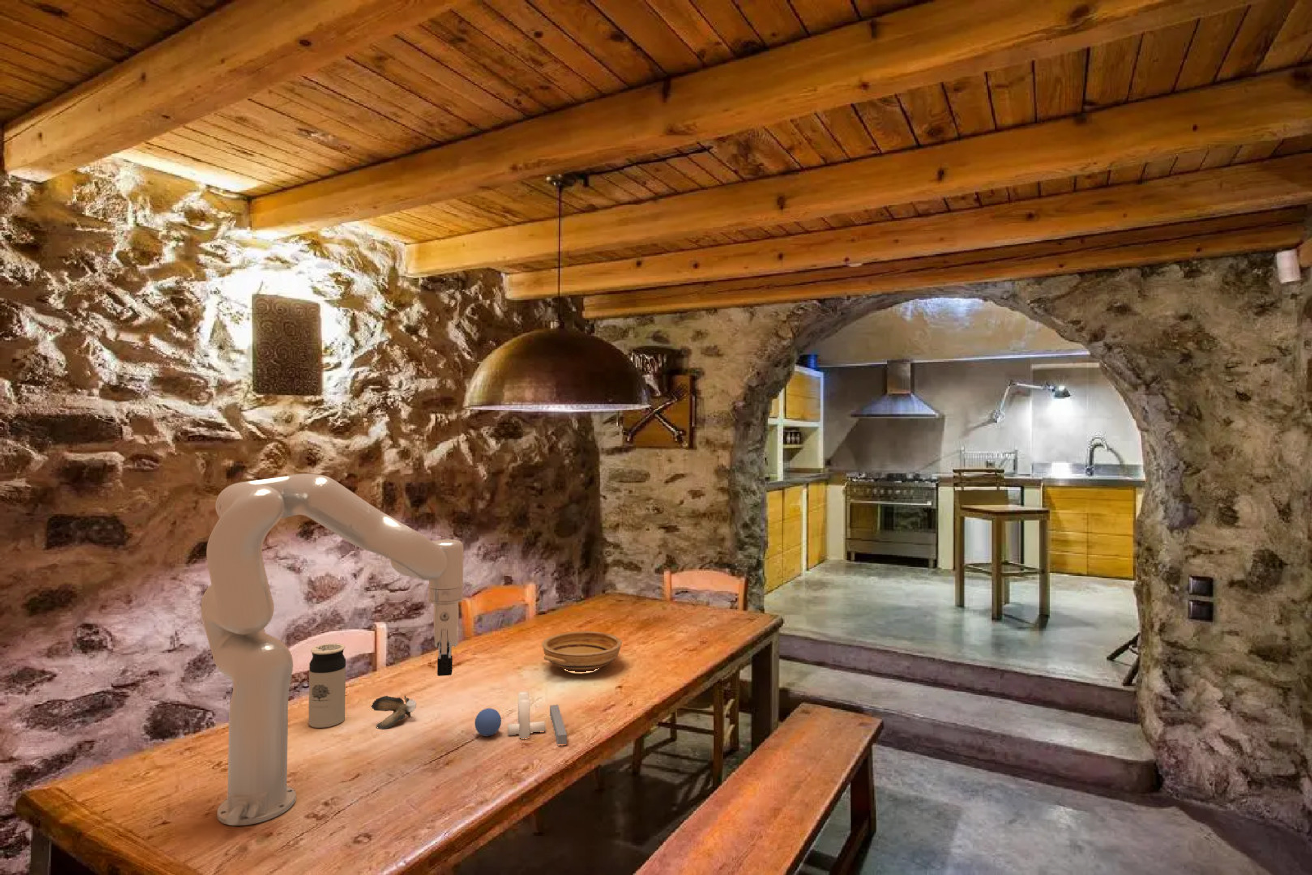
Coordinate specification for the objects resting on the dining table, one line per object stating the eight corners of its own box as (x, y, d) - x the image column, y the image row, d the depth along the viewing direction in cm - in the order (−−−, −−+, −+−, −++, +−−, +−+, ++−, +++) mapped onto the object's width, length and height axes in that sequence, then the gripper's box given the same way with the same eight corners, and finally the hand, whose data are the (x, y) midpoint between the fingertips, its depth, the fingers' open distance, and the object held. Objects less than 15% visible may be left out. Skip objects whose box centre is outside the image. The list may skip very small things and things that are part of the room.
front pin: (508, 737, 158) (545, 733, 160) (508, 727, 158) (545, 724, 160) (507, 732, 160) (544, 728, 162) (508, 722, 160) (544, 719, 162)
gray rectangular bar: (566, 745, 154) (566, 734, 154) (557, 746, 153) (557, 735, 153) (557, 714, 171) (558, 704, 171) (549, 715, 170) (550, 705, 170)
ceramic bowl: (583, 649, 226) (584, 625, 226) (642, 663, 212) (642, 637, 212) (517, 673, 201) (518, 646, 201) (579, 691, 188) (579, 661, 188)
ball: (487, 706, 156) (469, 729, 154) (507, 722, 157) (490, 744, 155) (485, 700, 162) (468, 722, 160) (505, 715, 163) (488, 736, 161)
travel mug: (325, 713, 170) (326, 641, 170) (352, 717, 168) (353, 644, 168) (300, 726, 162) (301, 651, 162) (328, 730, 160) (330, 654, 160)
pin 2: (530, 739, 157) (530, 702, 157) (519, 740, 156) (519, 702, 156) (529, 734, 159) (529, 698, 159) (518, 735, 158) (519, 699, 158)
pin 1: (528, 730, 162) (529, 694, 162) (518, 731, 161) (518, 695, 161) (527, 726, 164) (528, 690, 164) (517, 726, 163) (518, 691, 163)
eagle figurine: (398, 707, 172) (365, 711, 165) (411, 685, 171) (379, 689, 163) (410, 730, 168) (377, 736, 160) (424, 709, 166) (391, 713, 159)
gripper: (462, 600, 149) (460, 684, 149) (463, 586, 164) (462, 663, 164) (426, 602, 148) (424, 687, 147) (431, 588, 162) (429, 665, 162)
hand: (444, 674), depth 156 cm, fingers closed
